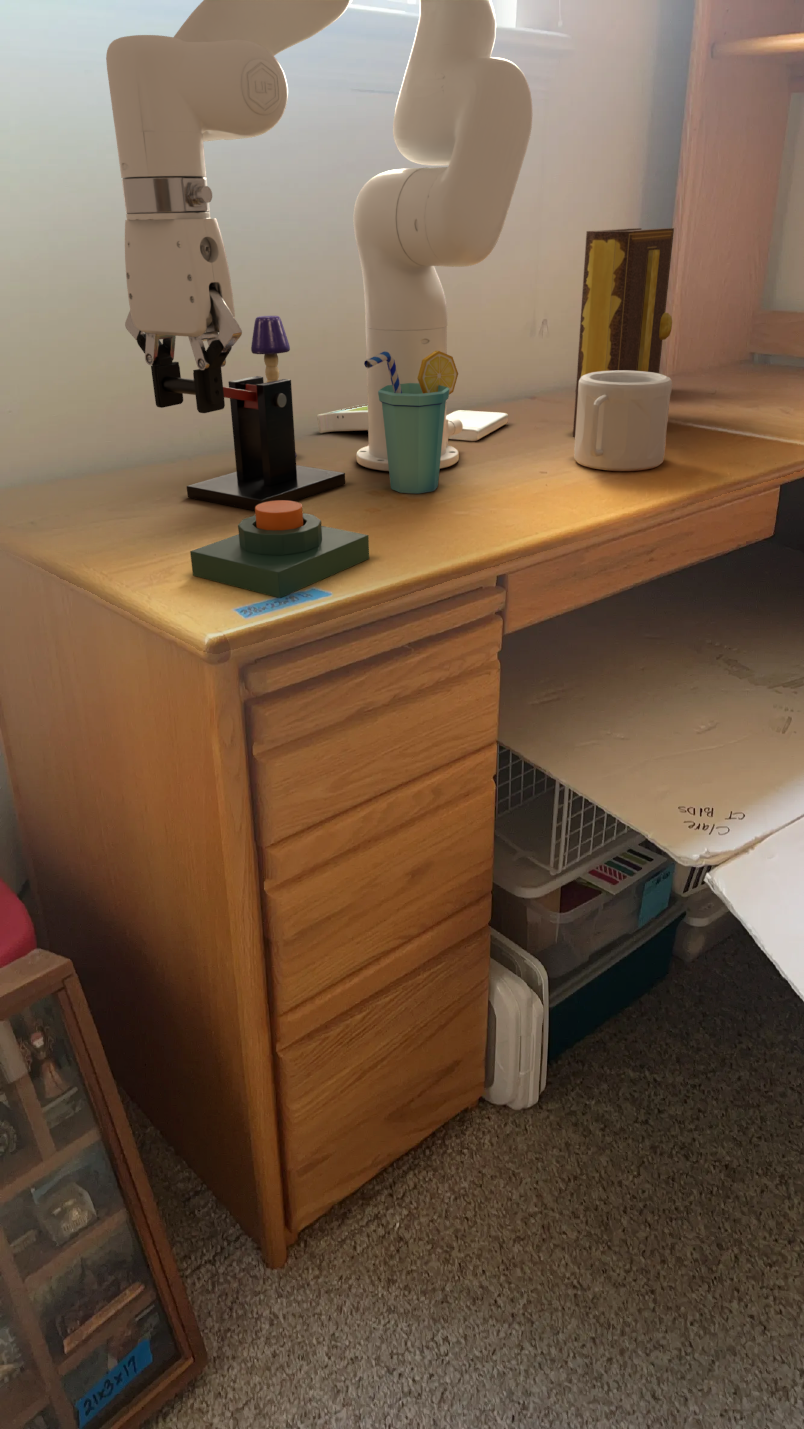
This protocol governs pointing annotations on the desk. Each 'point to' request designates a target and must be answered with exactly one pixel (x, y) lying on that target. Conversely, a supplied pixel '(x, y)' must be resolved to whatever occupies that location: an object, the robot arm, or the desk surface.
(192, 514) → the desk surface
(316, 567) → the control block
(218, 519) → the desk surface
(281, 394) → the bracket
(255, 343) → the toy lamp
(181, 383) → the lever
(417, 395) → the cup
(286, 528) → the button
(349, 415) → the handheld gaming console
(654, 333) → the book
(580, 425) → the mug
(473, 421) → the hard drive
